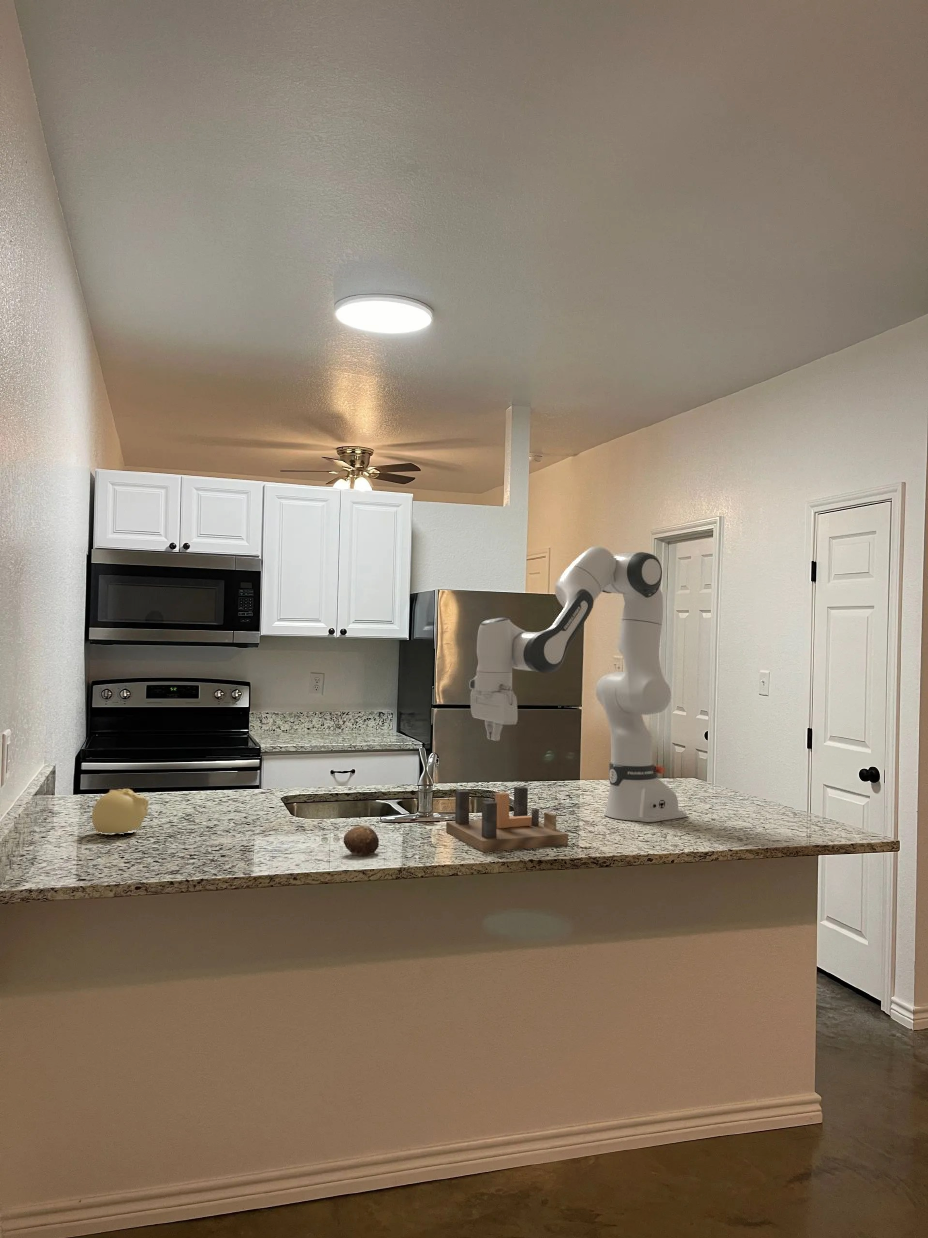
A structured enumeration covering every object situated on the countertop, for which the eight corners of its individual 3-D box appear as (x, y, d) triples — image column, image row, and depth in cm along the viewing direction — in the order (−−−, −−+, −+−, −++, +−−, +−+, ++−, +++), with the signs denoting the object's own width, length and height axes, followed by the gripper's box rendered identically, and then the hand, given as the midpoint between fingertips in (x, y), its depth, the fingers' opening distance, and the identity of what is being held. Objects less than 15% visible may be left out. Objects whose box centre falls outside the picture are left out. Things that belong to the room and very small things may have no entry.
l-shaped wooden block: (527, 823, 228) (527, 790, 228) (532, 825, 226) (532, 792, 226) (494, 826, 225) (495, 793, 225) (499, 828, 222) (499, 794, 223)
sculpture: (155, 831, 226) (155, 787, 226) (117, 841, 215) (118, 795, 216) (119, 827, 231) (120, 783, 231) (81, 836, 220) (82, 790, 220)
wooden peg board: (525, 825, 239) (526, 784, 239) (567, 844, 219) (568, 799, 219) (446, 832, 230) (446, 789, 230) (482, 852, 210) (482, 805, 210)
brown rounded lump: (343, 833, 212) (352, 814, 209) (376, 846, 213) (385, 828, 210) (335, 857, 205) (344, 838, 202) (368, 871, 206) (378, 852, 203)
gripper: (524, 686, 221) (523, 744, 221) (488, 681, 240) (488, 734, 240) (500, 686, 219) (499, 745, 219) (466, 681, 238) (465, 735, 237)
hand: (493, 739), depth 229 cm, fingers closed
